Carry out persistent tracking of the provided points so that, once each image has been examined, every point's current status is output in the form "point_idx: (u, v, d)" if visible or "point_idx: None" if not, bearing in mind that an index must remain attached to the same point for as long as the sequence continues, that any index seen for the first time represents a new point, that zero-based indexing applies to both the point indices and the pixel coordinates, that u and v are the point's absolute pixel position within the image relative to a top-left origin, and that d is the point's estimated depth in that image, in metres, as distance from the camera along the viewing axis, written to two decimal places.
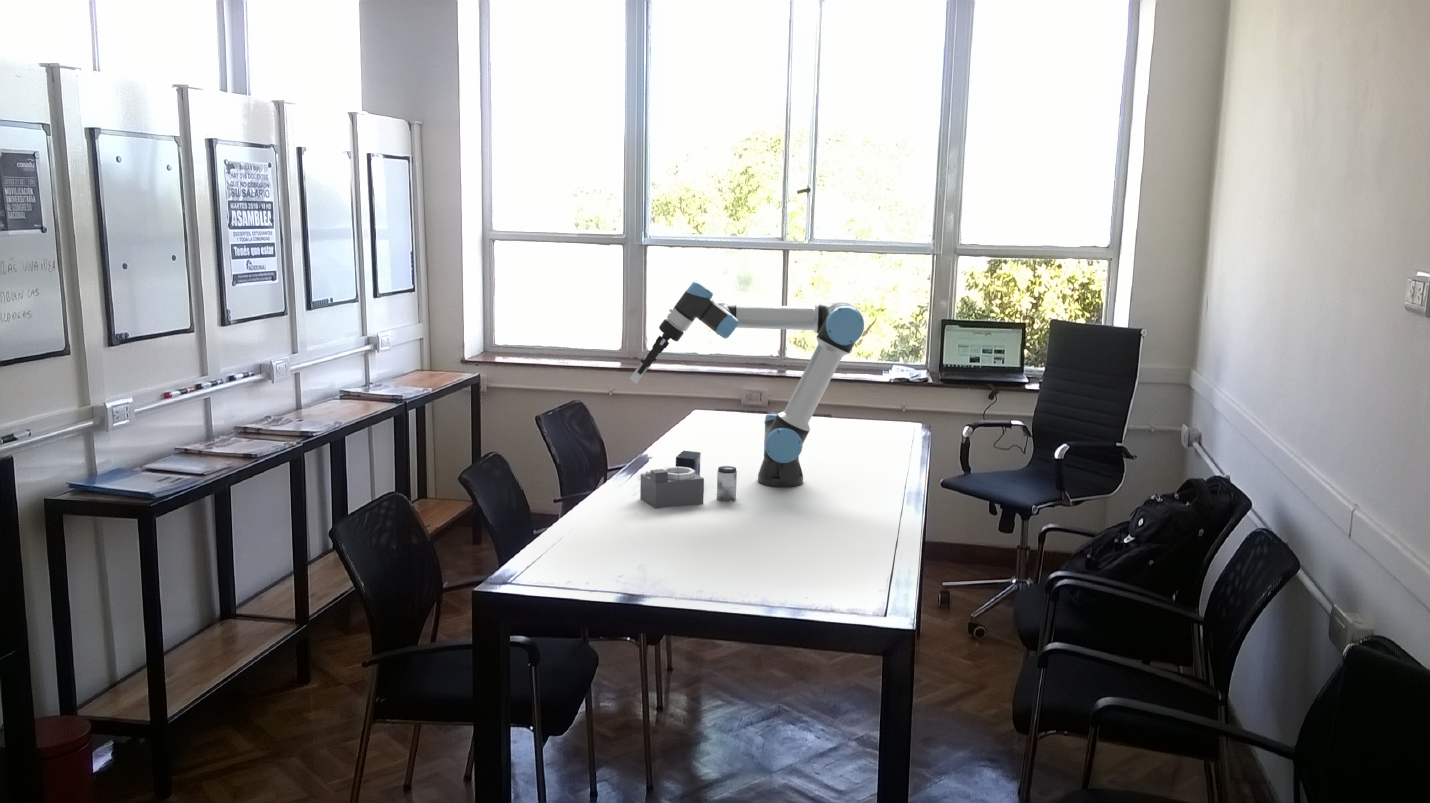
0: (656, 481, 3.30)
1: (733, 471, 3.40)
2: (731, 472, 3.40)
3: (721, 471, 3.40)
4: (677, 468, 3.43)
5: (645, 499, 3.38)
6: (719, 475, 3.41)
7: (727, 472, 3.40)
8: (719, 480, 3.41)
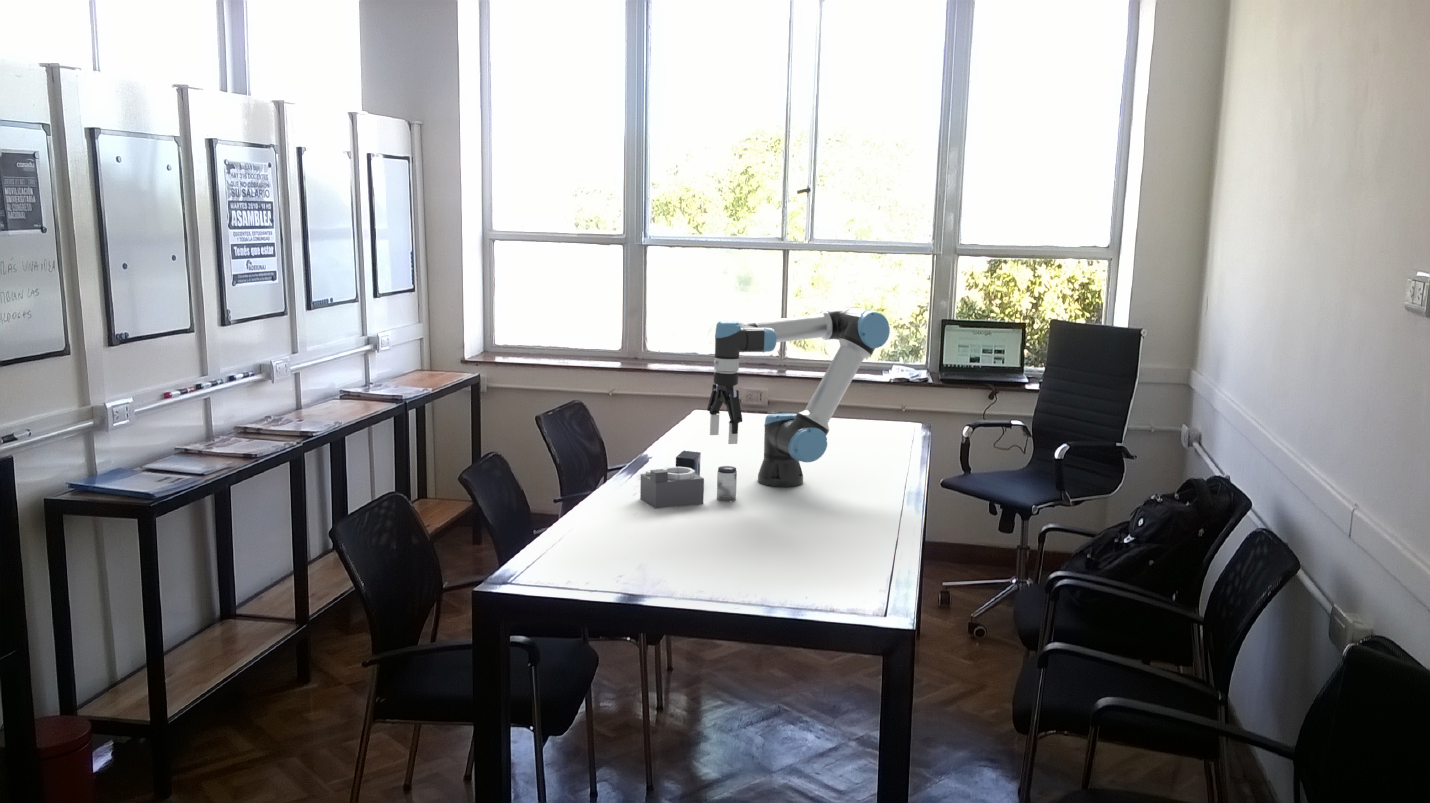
0: (656, 481, 3.30)
1: (733, 471, 3.40)
2: (731, 472, 3.40)
3: (721, 471, 3.40)
4: (677, 468, 3.43)
5: (645, 499, 3.38)
6: (719, 475, 3.41)
7: (727, 472, 3.40)
8: (719, 480, 3.41)
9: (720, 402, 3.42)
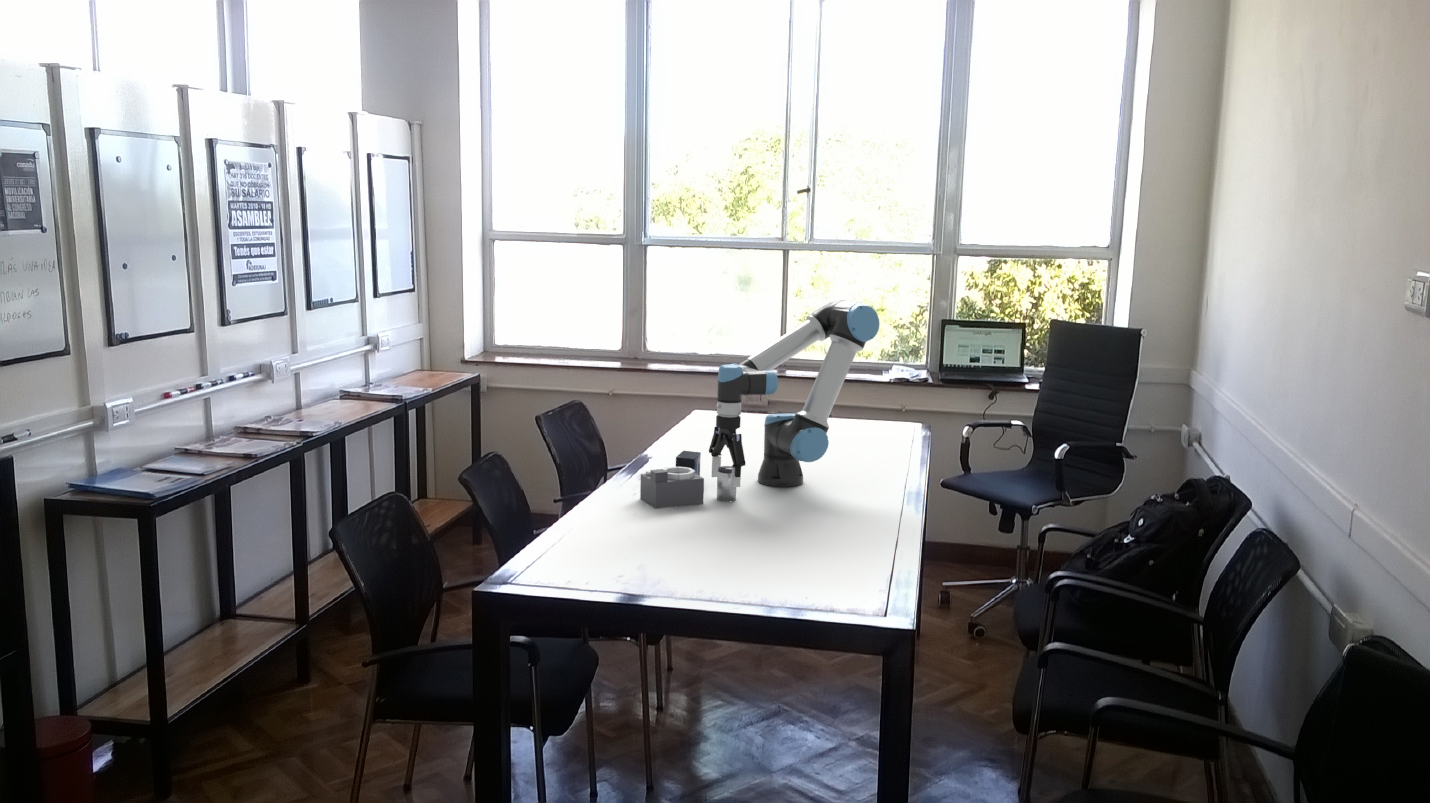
0: (656, 481, 3.30)
1: None
2: (731, 472, 3.40)
3: (721, 471, 3.40)
4: (677, 468, 3.43)
5: (645, 499, 3.38)
6: (719, 475, 3.41)
7: (727, 472, 3.40)
8: (719, 480, 3.41)
9: (722, 444, 3.44)
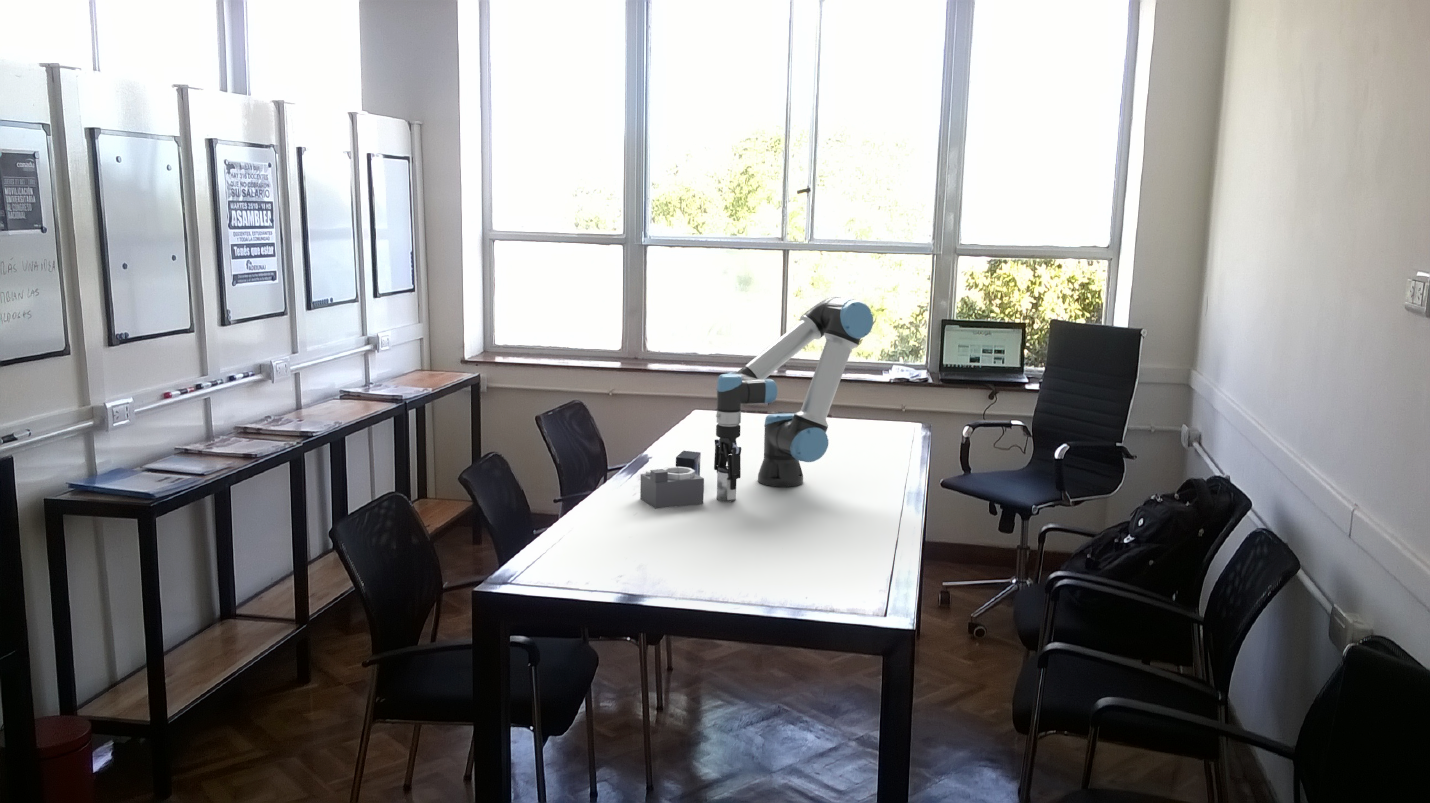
0: (656, 481, 3.30)
1: None
2: None
3: (721, 471, 3.40)
4: (677, 468, 3.43)
5: (645, 499, 3.38)
6: (719, 475, 3.41)
7: (727, 472, 3.40)
8: (719, 480, 3.41)
9: (725, 457, 3.44)
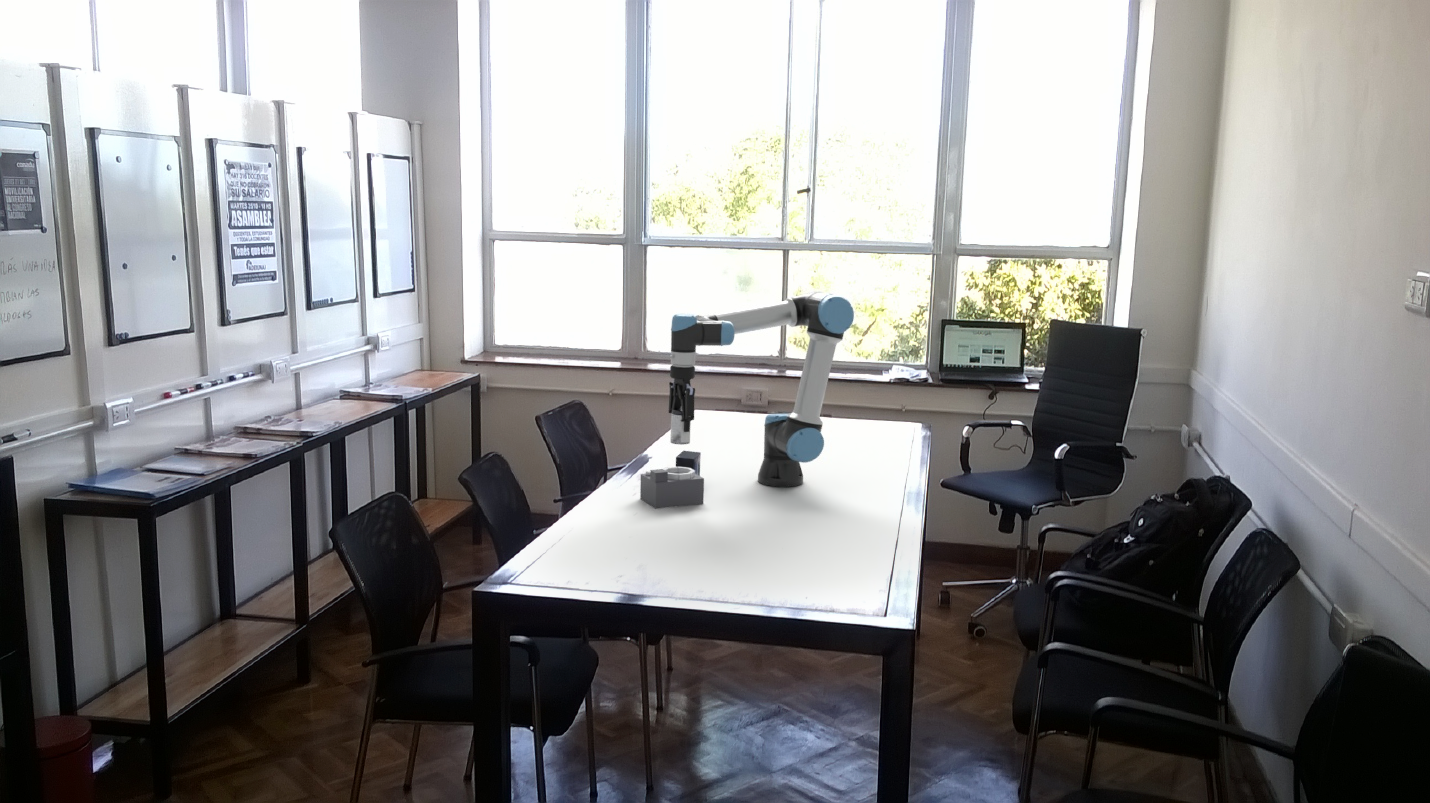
0: (656, 481, 3.30)
1: None
2: None
3: (675, 413, 3.34)
4: (677, 468, 3.43)
5: (645, 499, 3.38)
6: (673, 417, 3.34)
7: (681, 414, 3.33)
8: (673, 422, 3.35)
9: (679, 399, 3.37)
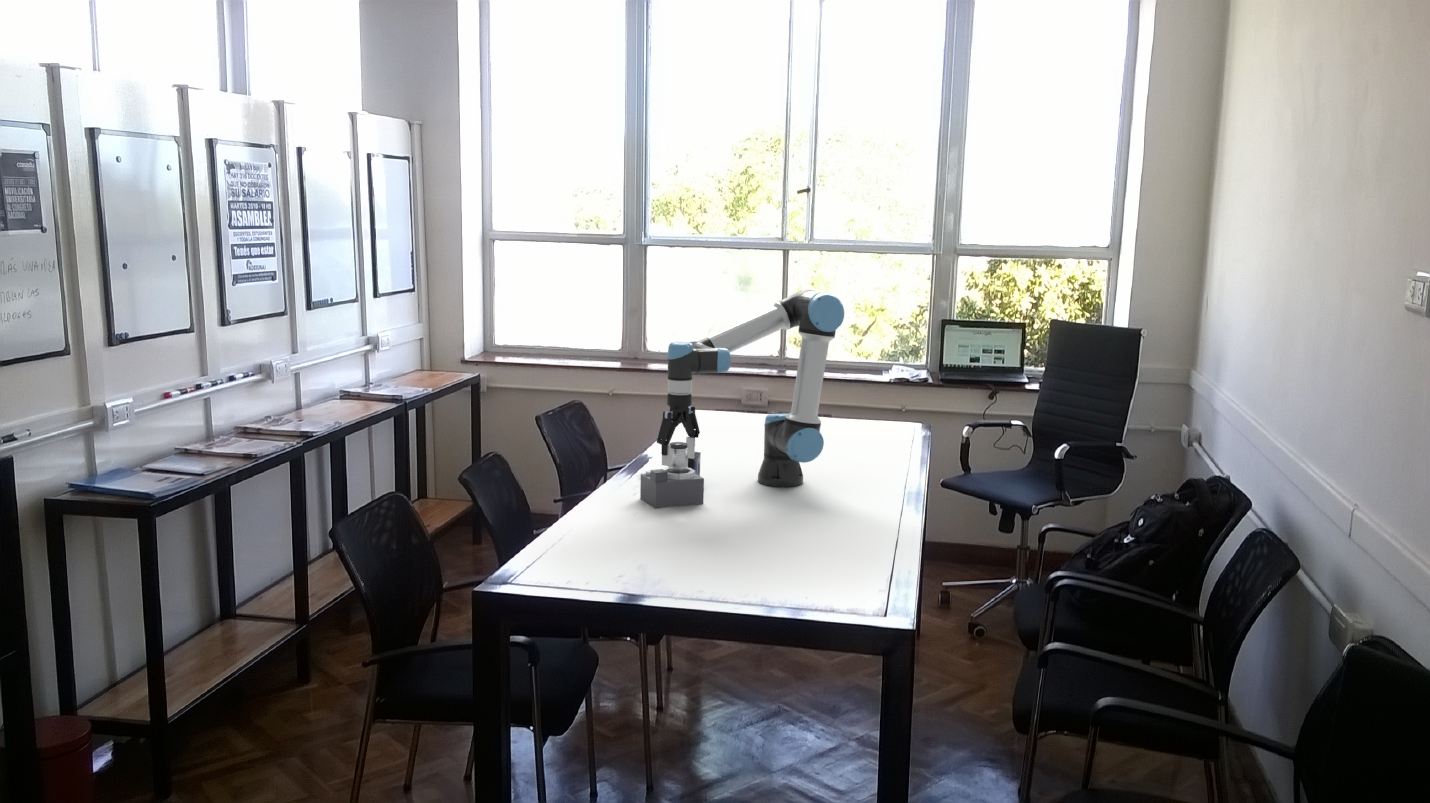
0: (656, 481, 3.30)
1: (675, 447, 3.35)
2: (673, 448, 3.35)
3: None
4: None
5: (645, 499, 3.38)
6: None
7: None
8: None
9: (686, 424, 3.39)
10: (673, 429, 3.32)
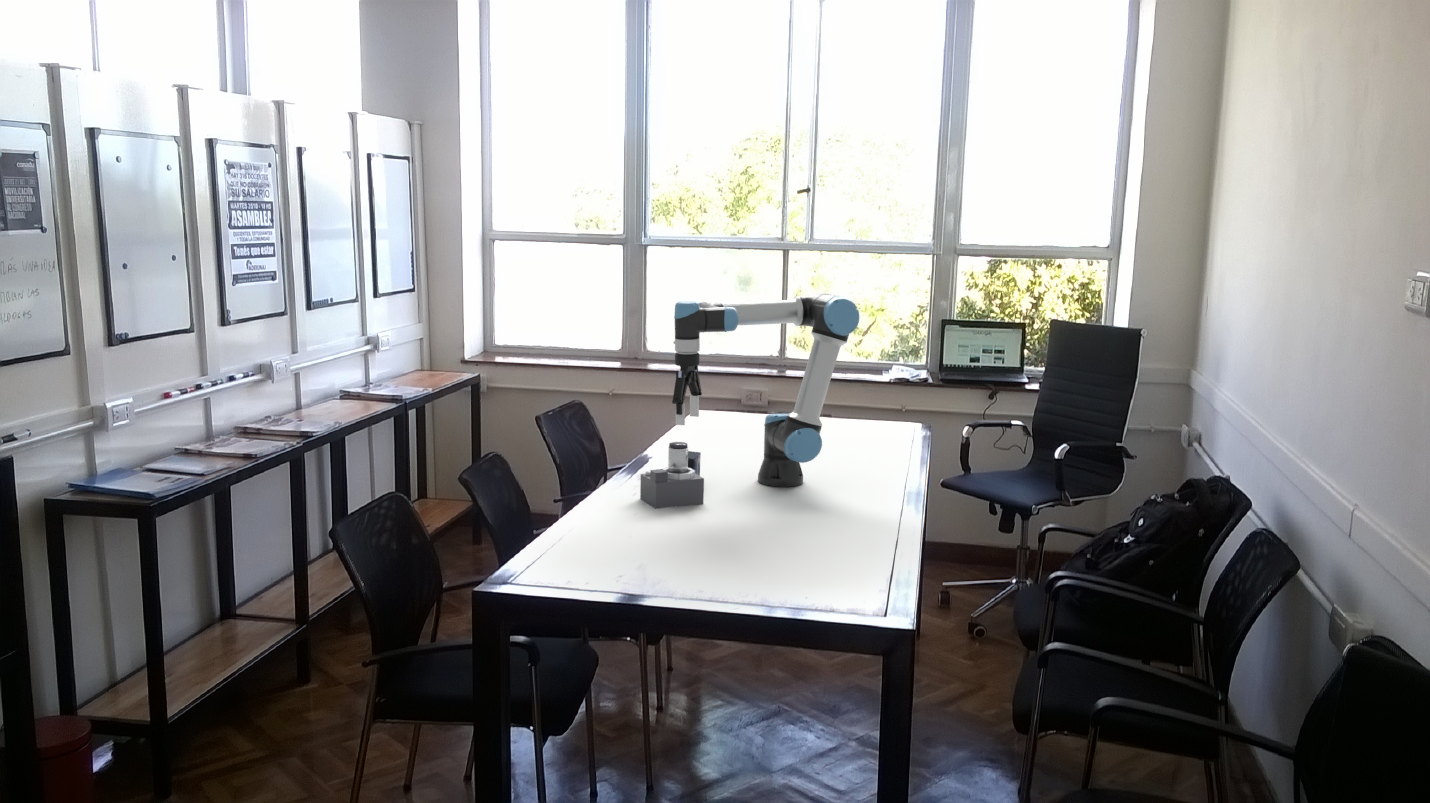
0: (656, 481, 3.30)
1: (675, 447, 3.35)
2: (673, 448, 3.35)
3: None
4: None
5: (645, 499, 3.38)
6: None
7: (670, 447, 3.36)
8: None
9: (692, 383, 3.40)
10: (685, 388, 3.32)
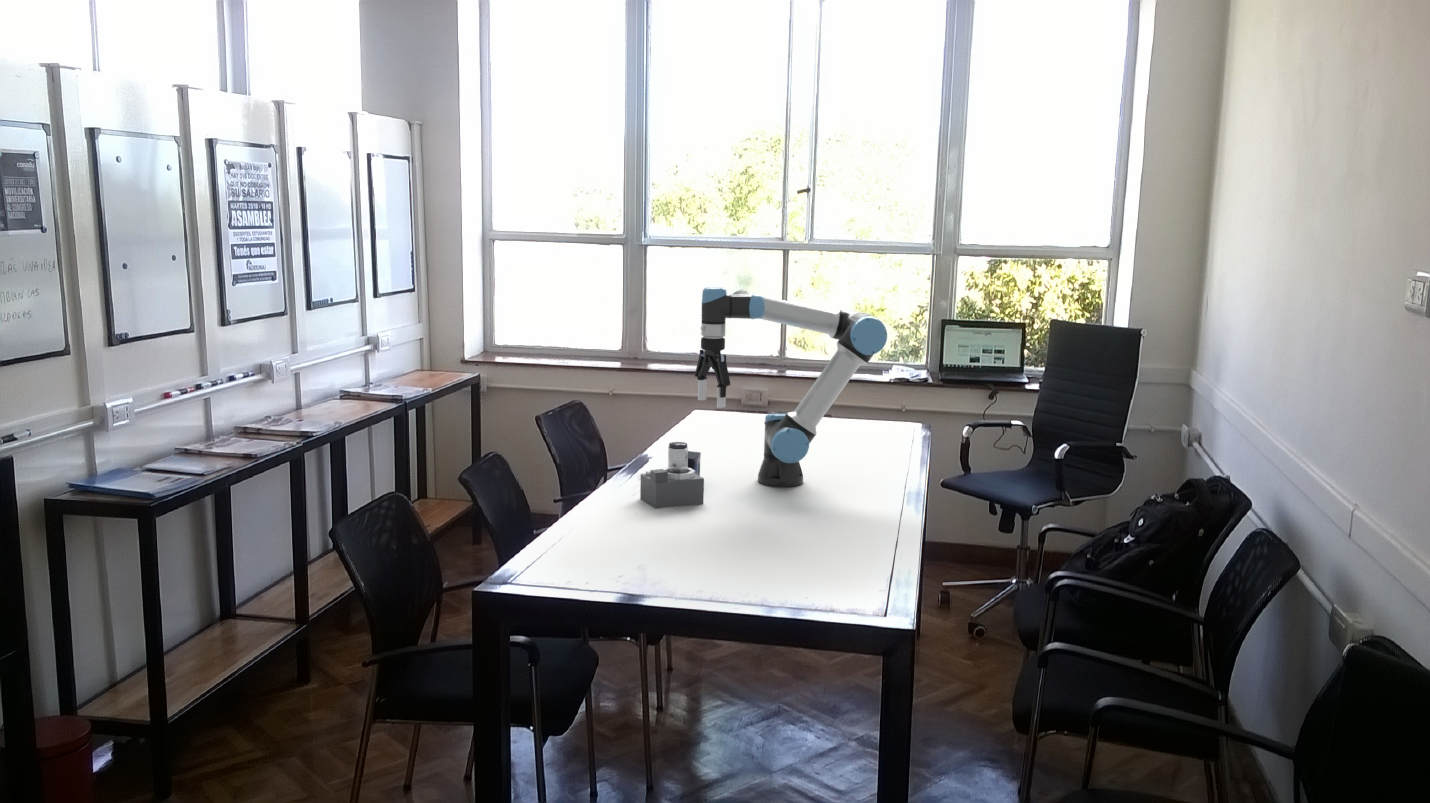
0: (656, 481, 3.30)
1: (675, 447, 3.35)
2: (672, 447, 3.35)
3: None
4: None
5: (645, 499, 3.38)
6: None
7: (670, 447, 3.36)
8: None
9: (707, 367, 3.49)
10: None
